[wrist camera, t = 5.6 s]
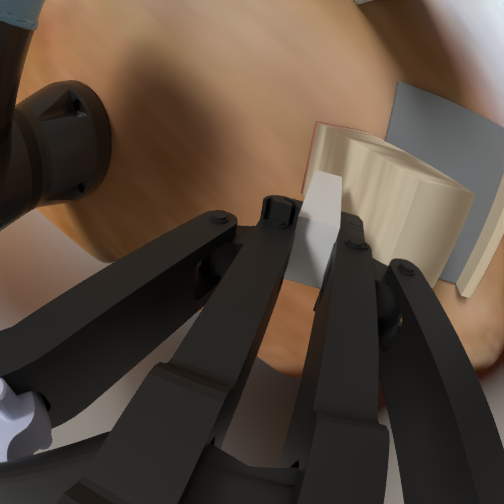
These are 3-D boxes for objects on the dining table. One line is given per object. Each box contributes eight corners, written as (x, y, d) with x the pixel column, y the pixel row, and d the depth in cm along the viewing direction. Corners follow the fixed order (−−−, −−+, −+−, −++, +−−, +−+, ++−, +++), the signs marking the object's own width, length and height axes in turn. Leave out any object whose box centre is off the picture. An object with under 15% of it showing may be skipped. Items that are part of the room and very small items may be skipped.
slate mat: (351, 250, 27) (352, 265, 25) (397, 81, 19) (404, 80, 17) (462, 282, 25) (469, 298, 23) (520, 138, 17) (534, 144, 14)
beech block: (300, 192, 24) (375, 292, 14) (315, 121, 21) (419, 180, 11) (348, 197, 25) (433, 287, 15) (365, 131, 22) (475, 194, 12)
